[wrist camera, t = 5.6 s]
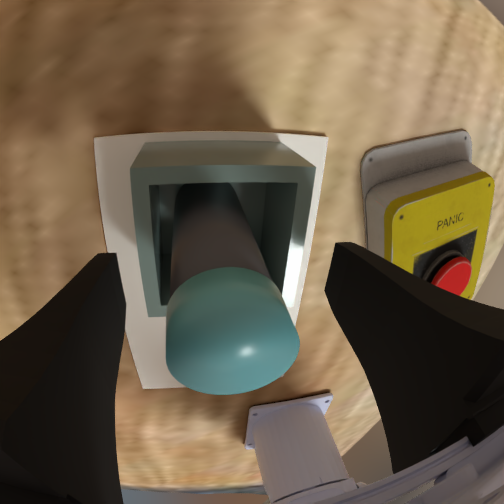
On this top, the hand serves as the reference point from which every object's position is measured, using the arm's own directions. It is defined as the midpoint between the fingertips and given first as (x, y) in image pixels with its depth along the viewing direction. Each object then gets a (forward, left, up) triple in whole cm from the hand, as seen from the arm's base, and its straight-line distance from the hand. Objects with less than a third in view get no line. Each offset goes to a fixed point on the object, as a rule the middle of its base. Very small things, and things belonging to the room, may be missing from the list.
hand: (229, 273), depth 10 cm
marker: (0, 0, -6) cm, 6 cm away
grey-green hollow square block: (0, 0, -6) cm, 6 cm away
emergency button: (-3, -14, -7) cm, 16 cm away
